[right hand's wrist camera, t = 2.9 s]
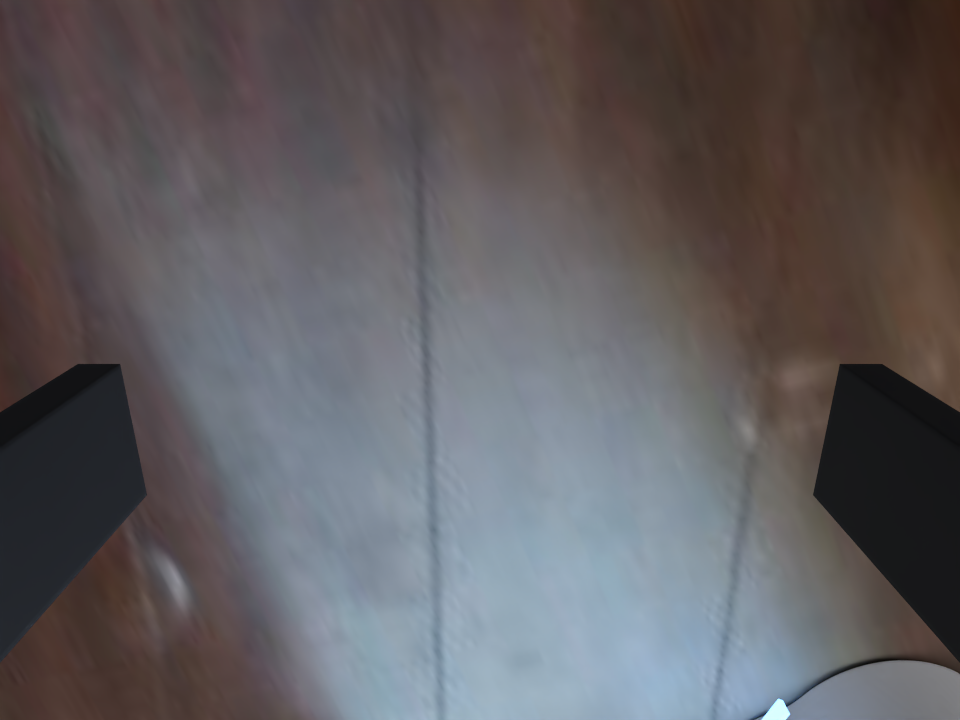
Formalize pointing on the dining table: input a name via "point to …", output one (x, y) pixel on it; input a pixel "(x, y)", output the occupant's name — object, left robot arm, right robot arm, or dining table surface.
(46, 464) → the right robot arm
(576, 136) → the dining table surface
